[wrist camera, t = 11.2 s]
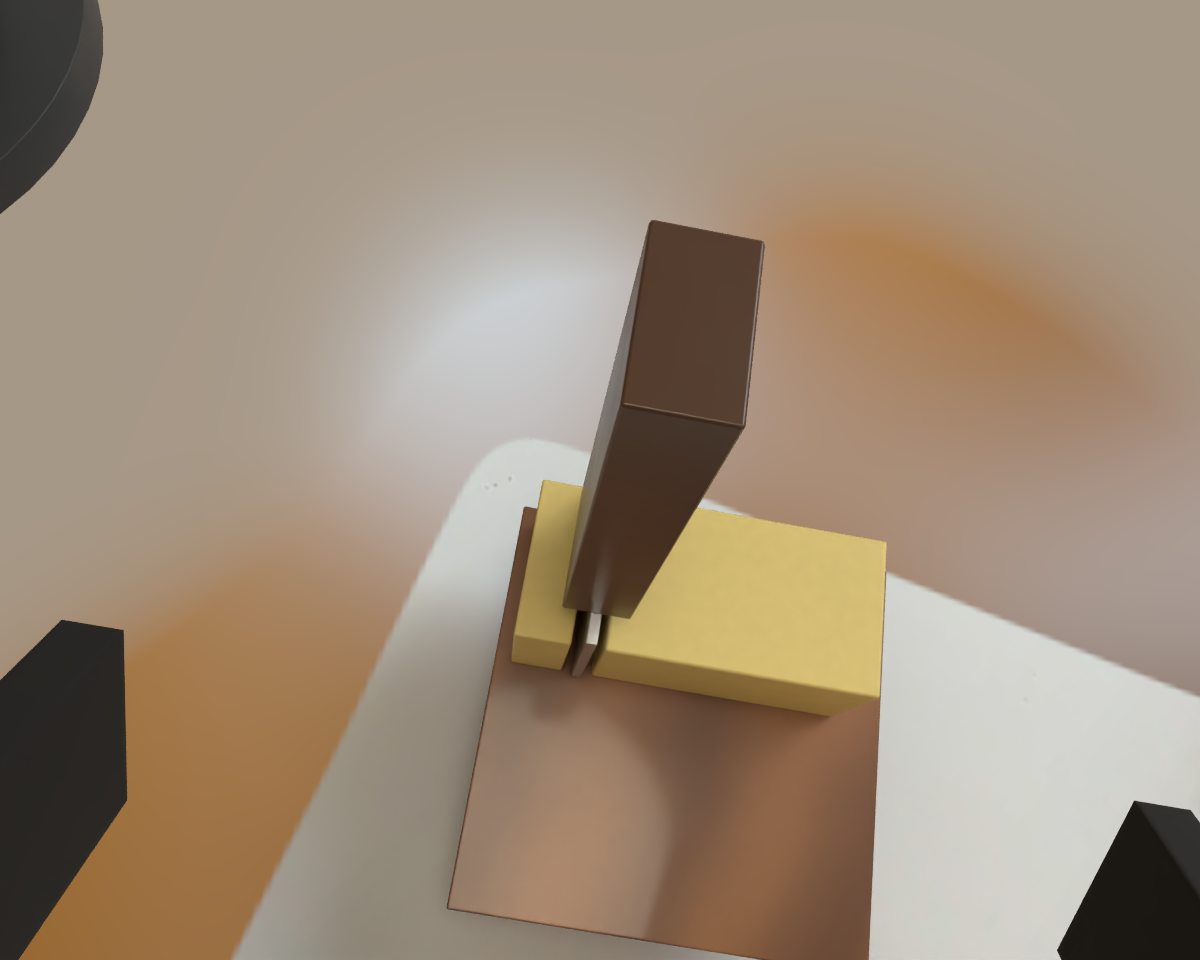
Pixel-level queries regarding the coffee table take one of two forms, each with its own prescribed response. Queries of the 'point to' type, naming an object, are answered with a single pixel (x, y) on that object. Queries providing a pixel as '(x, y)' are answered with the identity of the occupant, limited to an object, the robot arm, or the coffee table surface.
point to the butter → (723, 611)
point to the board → (667, 811)
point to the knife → (663, 416)
